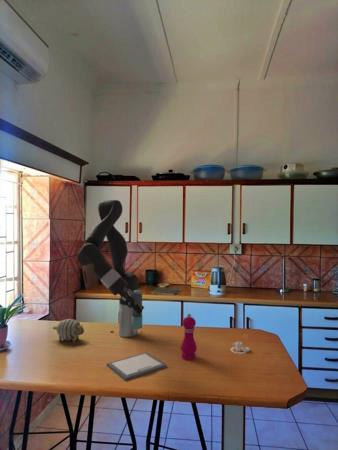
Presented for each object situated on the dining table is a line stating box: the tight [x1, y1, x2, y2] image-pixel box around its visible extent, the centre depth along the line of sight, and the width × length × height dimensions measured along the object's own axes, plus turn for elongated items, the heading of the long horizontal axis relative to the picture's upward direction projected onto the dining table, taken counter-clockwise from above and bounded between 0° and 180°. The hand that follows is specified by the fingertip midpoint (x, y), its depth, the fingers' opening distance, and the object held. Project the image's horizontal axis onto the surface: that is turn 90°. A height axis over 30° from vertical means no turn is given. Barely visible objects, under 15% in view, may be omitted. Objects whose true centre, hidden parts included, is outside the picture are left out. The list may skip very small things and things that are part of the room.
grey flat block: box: [106, 351, 168, 382], centre depth 136 cm, size 20×16×2 cm
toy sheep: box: [52, 318, 85, 344], centre depth 165 cm, size 11×17×11 cm, turn 84°
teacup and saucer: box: [230, 341, 251, 355], centre depth 154 cm, size 9×8×4 cm
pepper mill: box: [180, 313, 198, 361], centre depth 146 cm, size 7×7×20 cm
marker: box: [131, 289, 143, 330], centre depth 136 cm, size 5×5×16 cm
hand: (141, 310), depth 136 cm, fingers closed on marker, 4 cm apart
